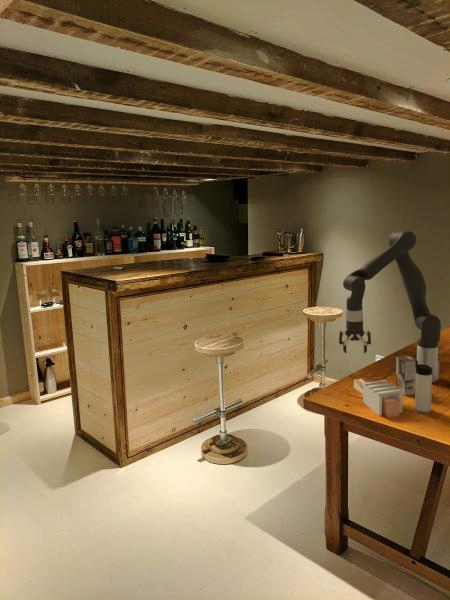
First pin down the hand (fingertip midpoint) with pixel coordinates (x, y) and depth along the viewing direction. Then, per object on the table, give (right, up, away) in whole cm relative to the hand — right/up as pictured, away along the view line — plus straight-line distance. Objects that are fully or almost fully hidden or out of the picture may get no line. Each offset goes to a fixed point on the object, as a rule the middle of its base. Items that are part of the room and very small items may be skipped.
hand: (355, 352), depth 210 cm
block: (+9, -23, -22) cm, 33 cm away
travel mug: (+22, -22, -21) cm, 38 cm away
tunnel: (+7, -22, -15) cm, 28 cm away
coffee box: (+24, -18, 0) cm, 30 cm away
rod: (+5, -20, -5) cm, 22 cm away
